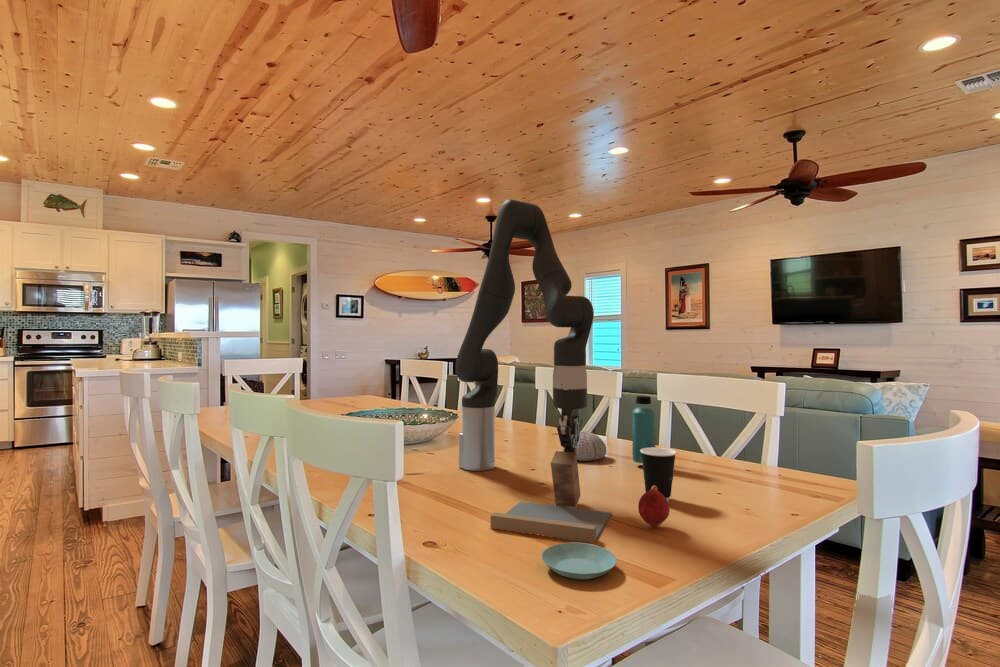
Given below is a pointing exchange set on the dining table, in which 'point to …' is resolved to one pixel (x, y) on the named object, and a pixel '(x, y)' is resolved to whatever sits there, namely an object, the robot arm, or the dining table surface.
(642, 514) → the onion
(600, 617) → the dining table surface
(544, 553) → the saucer
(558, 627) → the dining table surface
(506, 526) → the grey flat slab
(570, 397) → the robot arm
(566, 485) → the cardboard box
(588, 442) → the sea urchin shell
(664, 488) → the dixie cup
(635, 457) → the beverage bottle
